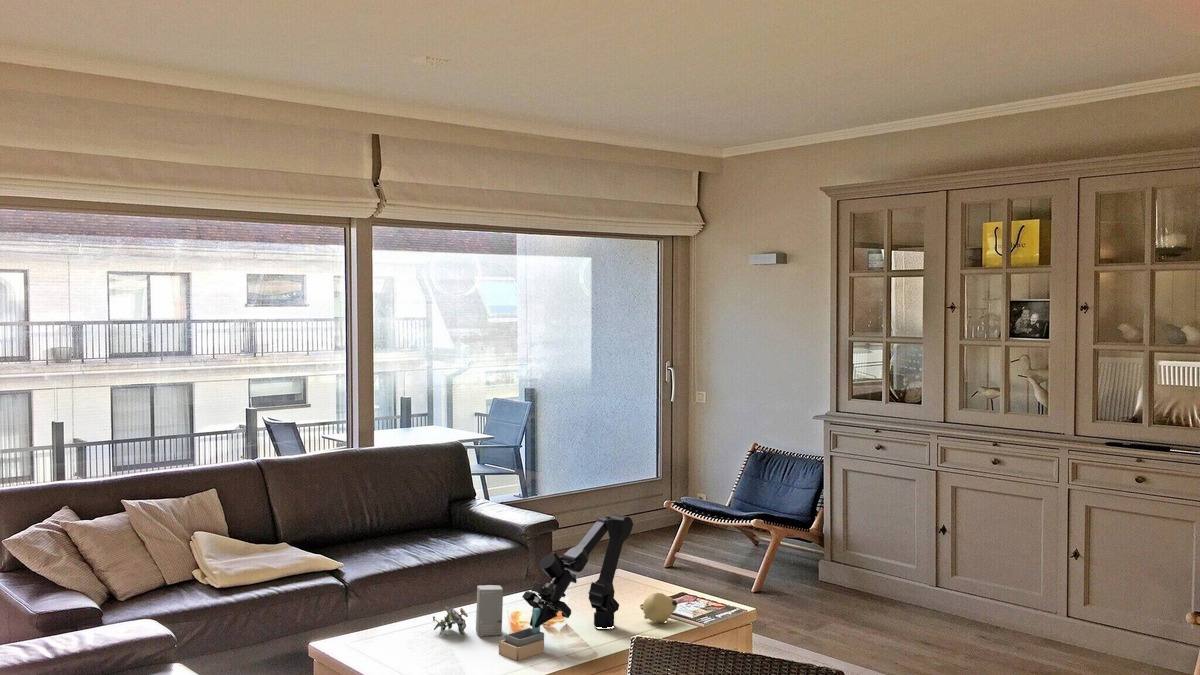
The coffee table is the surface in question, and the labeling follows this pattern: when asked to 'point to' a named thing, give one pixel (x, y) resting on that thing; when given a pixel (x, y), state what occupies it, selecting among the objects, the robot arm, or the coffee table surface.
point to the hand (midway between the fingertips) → (532, 626)
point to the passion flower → (452, 620)
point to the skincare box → (489, 610)
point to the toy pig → (658, 607)
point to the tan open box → (520, 650)
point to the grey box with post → (526, 633)
